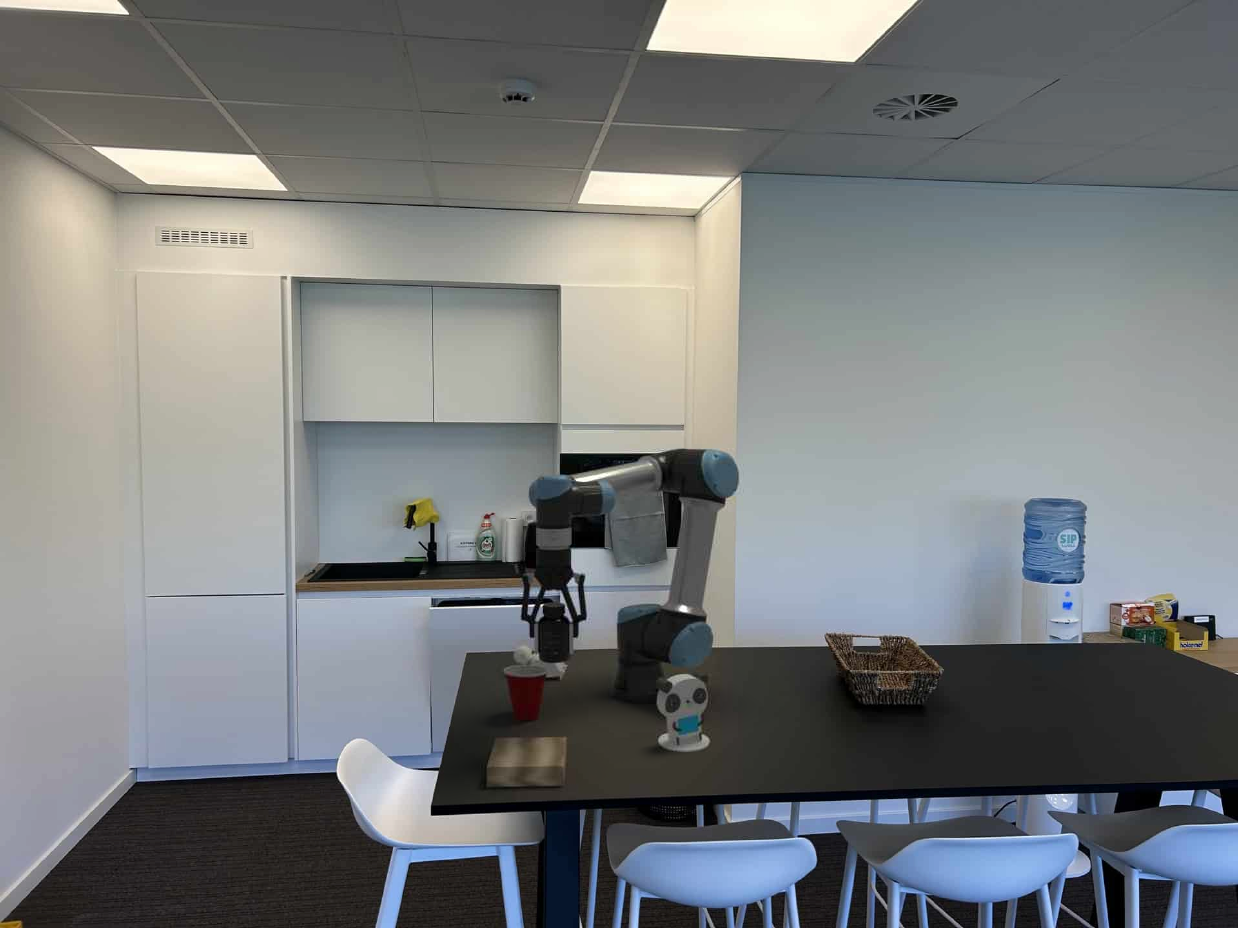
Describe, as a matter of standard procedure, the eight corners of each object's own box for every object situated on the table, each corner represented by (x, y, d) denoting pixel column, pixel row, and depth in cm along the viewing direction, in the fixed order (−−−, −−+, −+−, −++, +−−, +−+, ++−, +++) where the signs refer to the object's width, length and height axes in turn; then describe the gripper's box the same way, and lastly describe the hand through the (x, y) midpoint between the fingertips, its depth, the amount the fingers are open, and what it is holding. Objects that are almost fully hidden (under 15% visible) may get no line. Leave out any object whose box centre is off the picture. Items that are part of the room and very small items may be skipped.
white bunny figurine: (560, 683, 245) (511, 662, 246) (571, 655, 244) (522, 635, 245) (556, 692, 237) (505, 671, 238) (567, 664, 236) (516, 643, 237)
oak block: (566, 755, 187) (566, 736, 186) (563, 785, 172) (563, 765, 171) (496, 756, 186) (496, 737, 186) (487, 786, 171) (486, 766, 171)
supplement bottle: (538, 655, 192) (538, 601, 191) (569, 654, 192) (569, 600, 192) (538, 664, 185) (537, 608, 184) (570, 663, 186) (570, 607, 185)
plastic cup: (556, 711, 213) (555, 663, 212) (538, 727, 203) (537, 676, 202) (516, 707, 217) (515, 659, 216) (496, 722, 206) (495, 672, 206)
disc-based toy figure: (672, 756, 186) (672, 687, 185) (646, 738, 196) (646, 672, 195) (719, 745, 191) (719, 678, 190) (691, 728, 201) (691, 665, 200)
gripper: (505, 549, 183) (506, 657, 185) (599, 549, 184) (599, 657, 185) (509, 544, 191) (510, 647, 192) (599, 544, 191) (599, 647, 193)
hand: (554, 652), depth 189 cm, fingers closed on supplement bottle, 7 cm apart
